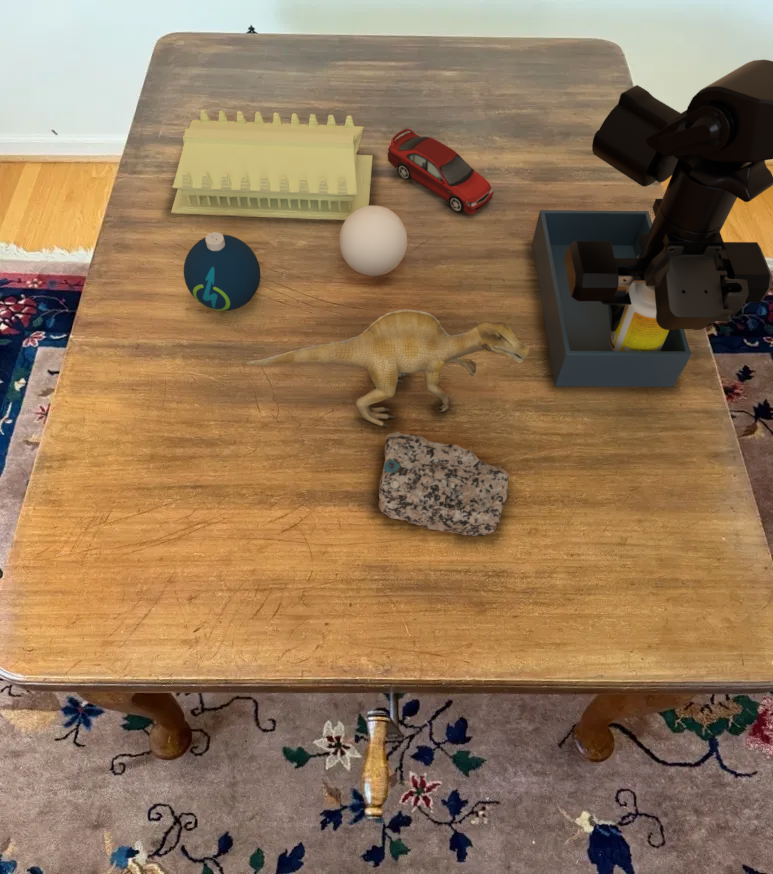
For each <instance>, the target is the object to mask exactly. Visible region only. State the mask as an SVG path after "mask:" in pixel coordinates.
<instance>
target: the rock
mask: <svg viewBox="0 0 773 874" xmlns="http://www.w3.org/2000/svg"><path fill="white" fill-rule="evenodd" d="M383 455H384V463H383V468H382V471H381V477H380V479H379V488H378V498H379V501H378V507H379V508H378V509H379V511H381V513H383V514H385V515H386V516H387V517H388V518H389V519H393V520H399V521H407V523H408V524H411V525H415V526H420V527H423V528H425V529H429V530H435V531H440V532H450V533H453V534H457V535H462V536H470V537H478V536H479V537H483V536H486V535H491V534H493V533H495V531H496V530H497V527H498V526H499V523H500V521H501V519H502V512H503V507H504V504H505V502H506V500H507V499H508V494H509V491H508V488H509V487H508V486H509V483H510V482H509V479H510V474H509V473H508V472H507V471H506V469H504V468H503V467H502V466H501V465H493V464H489V463H487V462H485V461H483V460H481V459H480V458H478V457H477V456H476V454H475V453H473V451H471V449H466V448H463V447H461V446H459V445H458V444H452V443H451V444H447V443H446V444H444V443H441V442H436V441H431V440H428V439H426V438H425V437H424V436H420V435H416V434H413V433H410V434H407V433H401V431H397V432H392V433H388V434H387V435H386V437H385V442H384V453H383Z"/></svg>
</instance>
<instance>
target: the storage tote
mask: <svg viewBox="0 0 773 874" xmlns="http://www.w3.org/2000/svg"><path fill="white" fill-rule="evenodd" d="M652 223H653V221H652V217H651V215H650V212H649V210H589V209H588V210H585V209H583V210H581V209H580V210H579V209H577V210H573V209H572V210H571V209H570V210H569V209H566V210H565V209H564V210H563V209H540V210H539V213H538V217H537V221H536V225H535V230H534V233H533V234H534V235H533V238H532V242H531V250H532V255H533V261H534V267H535V275H536V279H537V287H538V293H539V298H540V303H541V308H542V309H541V310H542V316H543V321H544V328H545V335H546V341H547V347H548V352H549V359H550V365H551V370H552V377H553V384H554V387H567V388H568V387H569V388H571V387H577V388H579V387H583V388H584V387H588V388H589V387H592V388H593V387H595V388H596V387H598V388H600V387H603V388H604V387H606V388H618V387H619V388H620V387H621V388H635V387H636V388H653V387H654V388H674V386H675V385H676V383H677V382H678V380H679V378H680V376H681V374H682V373H683V371H684V370H685V367H687V364H688V362H689V360H690V359H691V357H692V352H691V349H690V348H691V347H690V345H689V342H688V339H687V334H686V332H685V329H674V330H673V331H671V332H668V335H667V337H666V339H665V341H664V344H663V346H662V349H661V350H660V351H613V350H612V349H611V346H610V342H609V338H610V334H611V328H610V322H609V311H608V305H605V304H602V303H601V302H600V301H577V300H575V299H574V298H572V297H571V293H570V287H569V282H568V277H567V272H566V267H565V262H564V258H565V255H566V251H567V248H568V247H569V245H570V244H571V243H572V242H575V241H611V244H612V248H613V252H614V256H615V258H637V255H640V253H641V251H642V250H641V246H640V243H639V240H640V238H641V235H642V233H649V231H650V228H651V226H652Z"/></svg>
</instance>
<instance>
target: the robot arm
mask: <svg viewBox="0 0 773 874" xmlns="http://www.w3.org/2000/svg"><path fill="white" fill-rule="evenodd" d="M591 151H592V153H593V155H594V156H595V157H597V158H598V159H600V160H601V161H603V162H605V163H606V164H607V165H609V166H611V167H612V168H614V169H615V170H616V171H618V172H620V173H621V174H622V175H624V176H626V177H627V178H629V179H630V180H632V181H634V183H636V184H638V185H640V186H641V187H644V188H645V187H648V186H651V185H653V184H654V183H655V182H658V183H664V182H665V181H667V180H668V179H669V178H670V179H669V181H668V184H667V186H666V189H665V191H664V193H663V196H662V198H655V200H654V202H653V205H652V212H653V215H654V218H653V221H652V226H651V228H650V231H649V233H642V235H641V238H640V240H639V243H640V246H641V250H642V251H641V253H640V255H637V258H615V256H614V252H613V248H612V244H611V241H575V242H572V243H571V244H570V245H569V247H568V248H567V251H566V255H565V258H564V262H565V267H566V272H567V277H568V282H569V287H570V293H571V297H572V298H574V299H575V300H577V301H600V302H601V303H602V304H605V305H608V311H609V322H610V328H611V331H612V332H615V331H616V329H617V328H618V326H619V324H620V321H621V318H622V315H623V312H624V309H625V306H626V305H631V304H632V303H631V299H630V295H629V291H628V290H629V287H630V286H631V284H632V283H646V286H655V301H656V321H657V323H658V325H659V326H660V327H661V328H662V329H665V330H669V332H671V331H673V330H674V329H684V330H694V331H702V330H704V329H706V328H707V327H708V326H710V324H712V323H713V322H718V323H719V322H720V323H721V322H722V323H723V322H724V323H725V322H730V321H731V319H732V315H736V314H737V313H739V312H740V311H741V310H742V308H743V307H744V304H745V303H761V302H762V301H763V300H764V299H765V298H766V296H767V295H768V293H769V291H770V290H771V288H772V287H773V274H772V272H771V269H770V267H769V264H768V262H767V260H766V257H765V255H764V251H763V250H762V248H761V246H760V244H759V243H758V241H724V239H723V236H722V233H721V230H722V229H723V227H724V225H725V223H726V221H727V219H728V217H729V215H730V212H731V210H732V209H733V207H734V205H735V203H736V202H737V199H739V200H741V201H743V202H744V203H749V202H751V201H752V200H754V199H755V198H756V197H758V196H759V195H761V194H762V193H764V192H765V191H766V190H768V189H769V188H771V187H772V186H773V173H772V171H771V170H770V169H769V167H768V166H767V164H766V161H769V160H773V60H769V59H753V60H751V61H749V62H746V63H744V64H743V65H741V66H739V67H737V68H735V69H734V70H732V71H730V72H729V73H727V74H726V75H724V76H722V77H720V78H718V79H716V80H715V81H713V82H712V83H710V84H708V85H707V86H705V87H703V88H702V89H700V90H699V91H697V93H696V94H694V95H693V97H692V98H691V100H690V101H689V104H688V105H687V108H686V109H685V110H684V111H682V112H680V111H678V110H676V109H674V108H673V107H671V106H669V105H668V104H667V103H664V102H663V101H661V100H659V99H657V98H656V97H654V96H653V94H651V93H650V92H649V91H648V90H647V89H645V88H643V87H642V86H640V85H638V84H636V85H634V86H632V87H630V88H628V89H627V90H625V91H623V92H622V93H620V95H619V99H618V102H617V104H616V105H615V106H614V107H613V108H612V109H611V110H610V112H609V113H608V114H607V116H606V117H605V119H604V120H603V122H602V123H601V125H600V127H599V129H598V130H596V131H595V133H594V136H593V138H592V144H591Z"/></svg>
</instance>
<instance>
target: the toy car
mask: <svg viewBox="0 0 773 874" xmlns="http://www.w3.org/2000/svg"><path fill="white" fill-rule="evenodd" d="M386 154H387V161H388V163H390V164H391V166H393V167H394V168H395V169H397V173H398V175H399V176H400V177H401V179H403V180H405V181H407V180H410V179H411V180H413V181H414V182H416V183H418V184H419V185H421V186H422V187H424V188H425V189H427V190H429V191H430V192H432V193H434V194H435V195H437V196H438V197H440V198H442V199H443V200H445V201H446V202H448V204H449V206H450V208H451V210H453V211H454V212H456V213H460V212H464V213H466V214H468V215H473V214H474V213H476V212H478V211H479V210H481V209H483V208H484V207H485V206H486V205H487V204H489V202H490V201H491V200H492V199H493V195H494V194H495V193H494V190H493V188H492V186H491V183H490V182H489V181H488V180H487V179H486V178H485V177H483V176H482V175H481V174H480V173H479V172H477V171H476V170H475V169H474V168H473V167H472V166H471V165H470V164H469V163H468V162H467V161H466V160H465V159H463V157H462V156H461V155H460V154H459V153H458V152H456V150H454V149H453V148H451V147H449V146H447V145H446V144H444V143H443V142H440V141H439V140H437V139H435V138H432V137H429V136H420V135H418V134H416V132H415V131H413V130H412V129H410V128H405V129H403V130H401V131H398V133H396V134H395V135H394V136H393V137H392V138H391V141H390V144H389V145H388V152H387V153H386Z"/></svg>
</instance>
